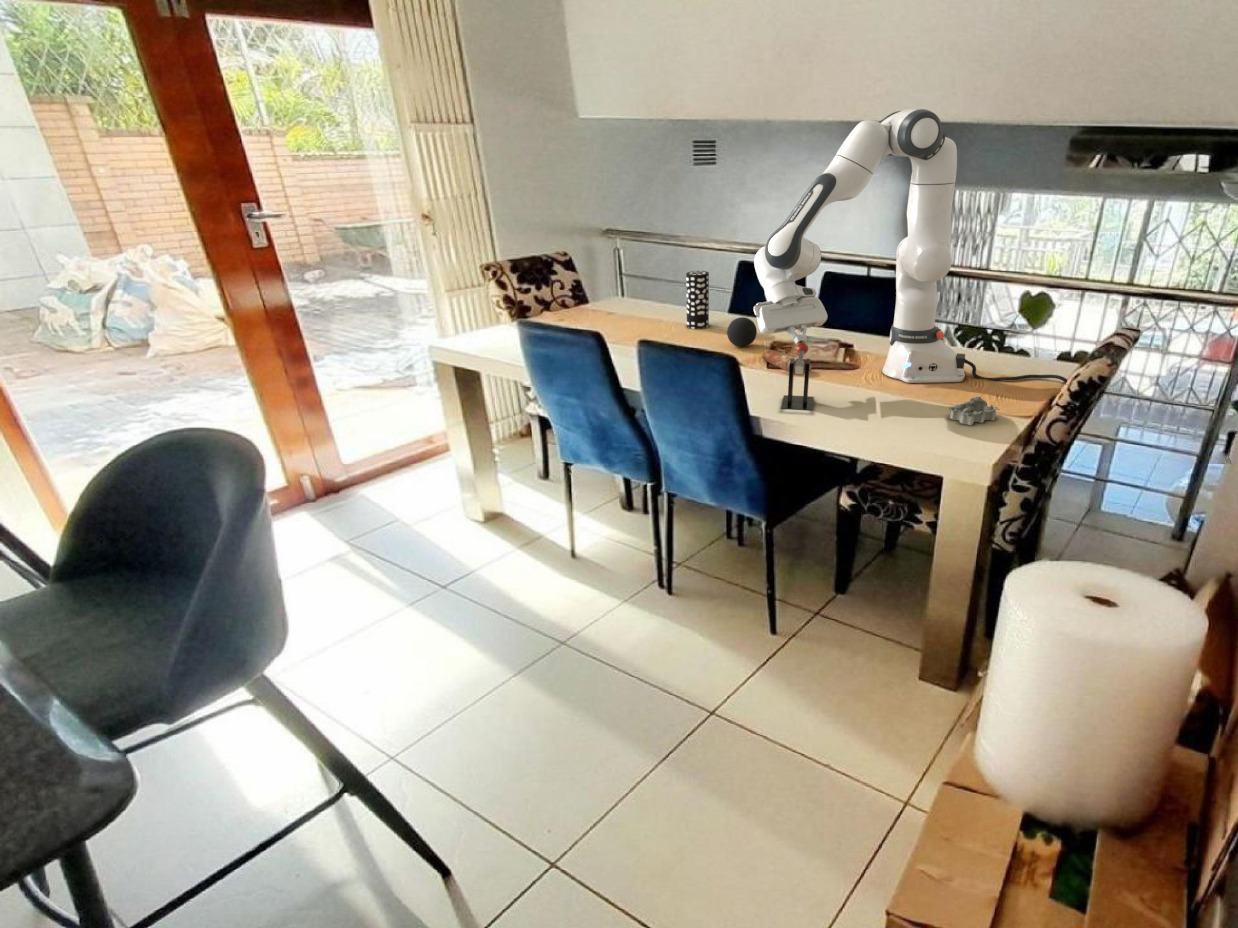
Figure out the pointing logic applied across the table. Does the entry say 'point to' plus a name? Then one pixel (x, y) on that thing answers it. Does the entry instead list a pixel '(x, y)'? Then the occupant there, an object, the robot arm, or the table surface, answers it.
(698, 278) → the white-spotted black cylinder
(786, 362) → the bread
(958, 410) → the grey lumpy block
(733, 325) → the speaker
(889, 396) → the table surface
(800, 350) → the lever
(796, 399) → the bracket
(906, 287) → the robot arm
